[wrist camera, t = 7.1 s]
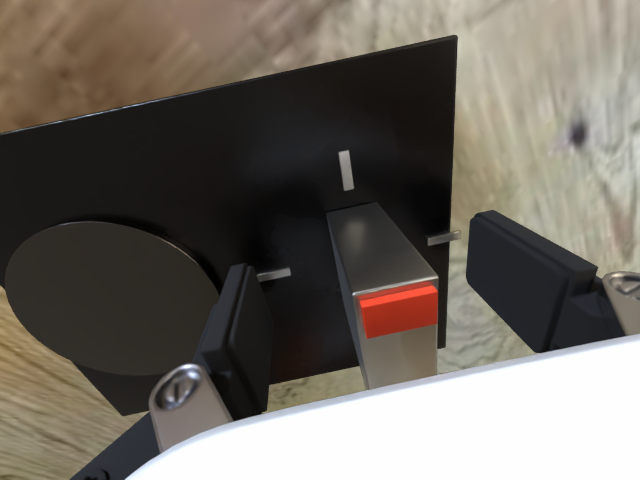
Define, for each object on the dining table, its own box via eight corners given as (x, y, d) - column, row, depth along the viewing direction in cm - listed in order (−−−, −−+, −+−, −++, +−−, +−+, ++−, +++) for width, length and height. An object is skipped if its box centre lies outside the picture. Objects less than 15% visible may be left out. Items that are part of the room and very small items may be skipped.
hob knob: (385, 292, 13) (441, 405, 8) (342, 301, 13) (373, 419, 8) (376, 201, 10) (445, 282, 6) (325, 212, 10) (353, 301, 6)
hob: (431, 314, 17) (454, 349, 15) (143, 376, 17) (120, 420, 15) (432, 45, 10) (473, 29, 8) (-34, 146, 11) (-127, 159, 8)
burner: (248, 349, 13) (247, 355, 13) (89, 383, 13) (84, 390, 13) (178, 196, 10) (174, 199, 9) (-40, 243, 10) (-53, 249, 9)
